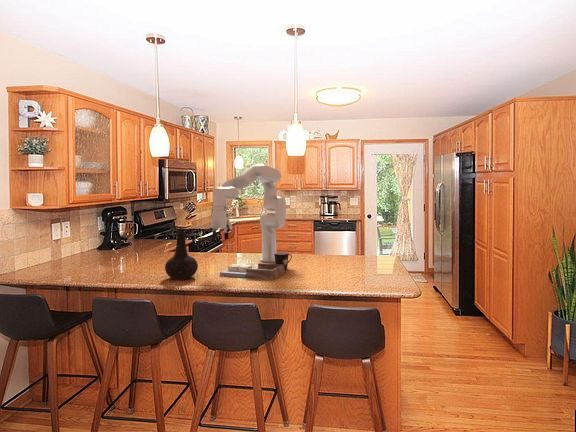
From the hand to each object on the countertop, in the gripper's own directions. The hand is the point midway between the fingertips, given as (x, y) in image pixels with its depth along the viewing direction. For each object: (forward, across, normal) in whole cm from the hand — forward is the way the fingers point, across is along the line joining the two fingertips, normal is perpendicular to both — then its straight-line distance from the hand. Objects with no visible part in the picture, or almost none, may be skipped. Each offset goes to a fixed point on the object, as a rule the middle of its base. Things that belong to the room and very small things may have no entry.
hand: (220, 238), depth 265 cm
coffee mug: (+20, -33, -17) cm, 42 cm away
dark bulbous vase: (+20, +14, +20) cm, 32 cm away
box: (+20, -28, 0) cm, 35 cm away
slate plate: (+20, -12, 0) cm, 23 cm away
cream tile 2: (+18, -16, 0) cm, 24 cm away
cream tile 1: (+18, -9, 0) cm, 20 cm away
